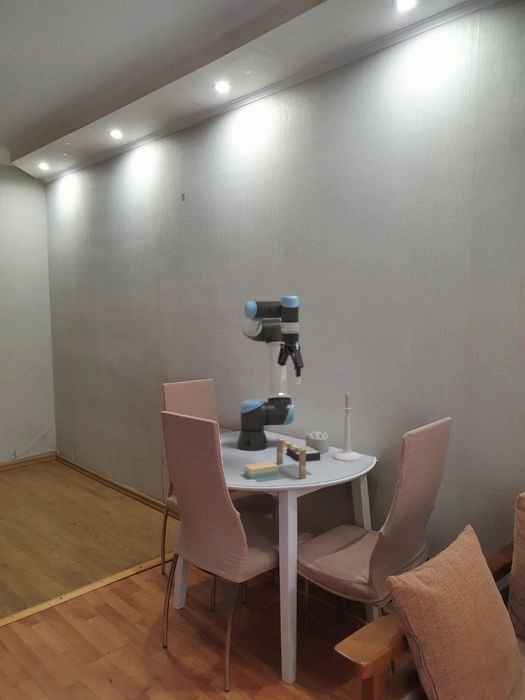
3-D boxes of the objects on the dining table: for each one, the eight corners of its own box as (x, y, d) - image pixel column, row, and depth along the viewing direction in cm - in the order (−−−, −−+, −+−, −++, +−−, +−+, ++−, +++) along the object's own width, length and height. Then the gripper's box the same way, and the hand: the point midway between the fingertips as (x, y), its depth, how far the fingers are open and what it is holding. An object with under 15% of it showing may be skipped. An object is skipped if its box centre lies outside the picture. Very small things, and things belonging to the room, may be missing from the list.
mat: (243, 471, 220) (243, 471, 220) (294, 464, 229) (294, 463, 229) (258, 483, 205) (258, 482, 205) (312, 475, 215) (312, 474, 215)
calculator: (307, 444, 250) (320, 451, 236) (308, 453, 250) (320, 460, 236) (286, 446, 247) (297, 453, 233) (286, 455, 247) (297, 462, 233)
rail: (276, 464, 230) (276, 438, 229) (280, 464, 230) (280, 437, 230) (301, 480, 209) (301, 450, 208) (305, 479, 209) (305, 450, 208)
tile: (271, 461, 219) (271, 470, 220) (244, 464, 215) (244, 474, 215) (278, 465, 213) (278, 475, 213) (250, 469, 208) (251, 479, 209)
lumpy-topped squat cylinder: (324, 446, 260) (324, 429, 259) (332, 453, 247) (332, 435, 246) (303, 447, 257) (303, 430, 257) (311, 455, 245) (311, 436, 244)
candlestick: (333, 461, 234) (333, 394, 232) (333, 453, 247) (333, 390, 245) (362, 461, 233) (362, 395, 231) (360, 454, 245) (361, 390, 243)
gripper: (269, 331, 232) (269, 379, 233) (295, 333, 209) (295, 386, 210) (284, 331, 235) (285, 378, 236) (311, 333, 212) (312, 385, 213)
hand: (290, 382), depth 223 cm, fingers open, 13 cm apart
